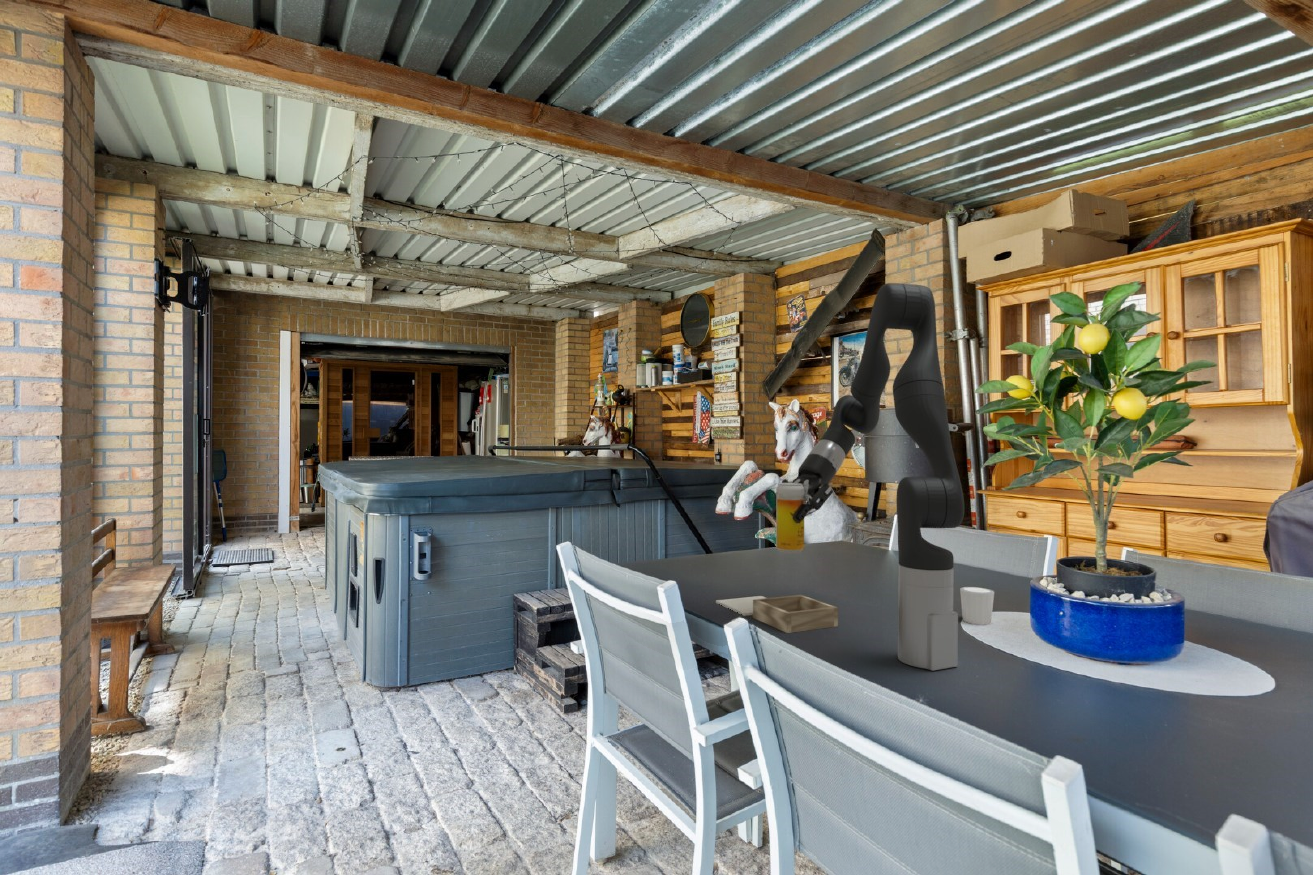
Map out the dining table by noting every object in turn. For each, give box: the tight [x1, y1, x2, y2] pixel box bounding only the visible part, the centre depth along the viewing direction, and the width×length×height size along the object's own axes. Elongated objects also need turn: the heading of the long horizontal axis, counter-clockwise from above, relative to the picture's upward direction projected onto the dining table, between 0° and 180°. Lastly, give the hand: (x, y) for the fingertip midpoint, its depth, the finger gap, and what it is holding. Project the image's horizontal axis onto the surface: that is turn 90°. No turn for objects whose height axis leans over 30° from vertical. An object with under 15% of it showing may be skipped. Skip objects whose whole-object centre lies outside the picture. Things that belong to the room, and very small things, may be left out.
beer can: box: [775, 482, 805, 554], centre depth 150 cm, size 6×6×15 cm
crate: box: [752, 594, 839, 634], centre depth 147 cm, size 13×13×4 cm
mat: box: [715, 595, 767, 617], centre depth 161 cm, size 13×13×1 cm
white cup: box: [959, 586, 995, 626], centre depth 150 cm, size 7×7×7 cm
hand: (784, 518), depth 149 cm, fingers closed on beer can, 6 cm apart
